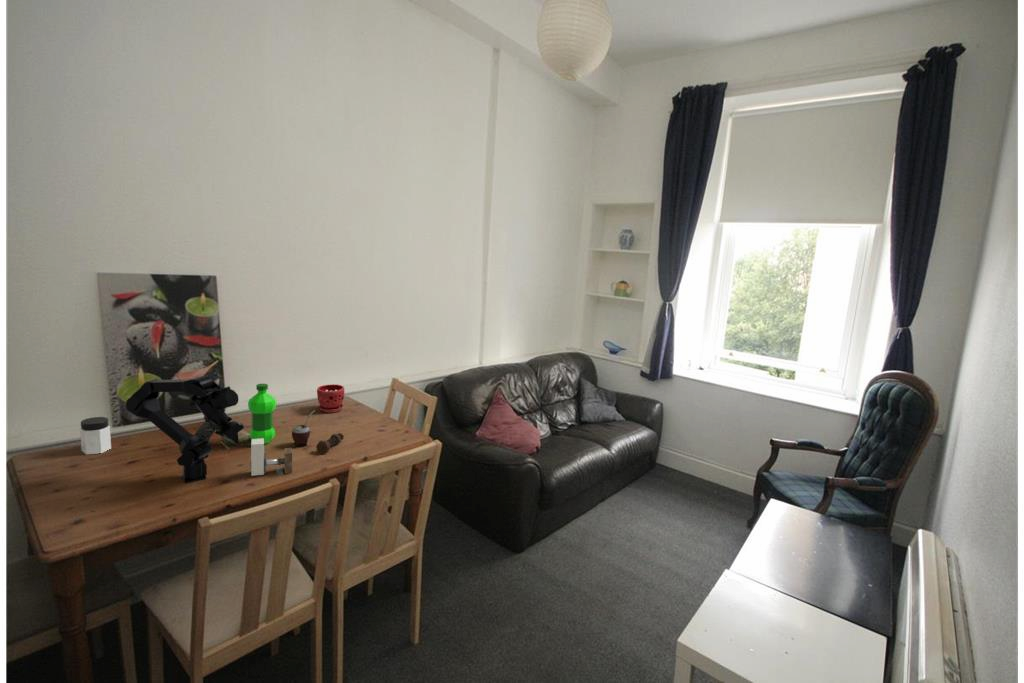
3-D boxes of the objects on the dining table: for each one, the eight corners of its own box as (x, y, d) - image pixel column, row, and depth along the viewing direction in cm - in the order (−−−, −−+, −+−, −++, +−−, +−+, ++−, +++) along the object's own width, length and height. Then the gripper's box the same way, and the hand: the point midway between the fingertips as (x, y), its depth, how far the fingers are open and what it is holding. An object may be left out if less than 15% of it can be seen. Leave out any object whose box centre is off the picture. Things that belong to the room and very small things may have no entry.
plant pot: (338, 404, 270) (338, 382, 268) (348, 411, 260) (348, 389, 258) (312, 407, 262) (313, 385, 259) (322, 415, 252) (322, 392, 250)
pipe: (250, 469, 186) (250, 462, 185) (250, 465, 188) (250, 459, 188) (286, 465, 191) (286, 459, 190) (285, 462, 193) (285, 456, 193)
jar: (78, 455, 190) (76, 425, 188) (84, 447, 197) (82, 417, 195) (108, 453, 194) (106, 423, 192) (113, 444, 201) (111, 416, 199)
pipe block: (276, 474, 189) (276, 454, 187) (276, 468, 193) (276, 449, 192) (292, 473, 191) (292, 453, 190) (291, 467, 196) (291, 447, 194)
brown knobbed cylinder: (342, 444, 225) (323, 456, 210) (333, 437, 225) (313, 449, 211) (348, 434, 224) (330, 446, 209) (339, 427, 224) (320, 438, 209)
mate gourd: (288, 446, 214) (288, 412, 211) (300, 439, 221) (301, 406, 219) (302, 449, 212) (303, 415, 209) (315, 443, 219) (315, 409, 217)
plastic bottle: (244, 445, 210) (243, 387, 206) (256, 436, 221) (255, 380, 216) (269, 447, 211) (268, 389, 206) (279, 438, 221) (279, 382, 216)
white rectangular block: (251, 475, 185) (251, 444, 183) (252, 469, 190) (251, 439, 188) (265, 474, 187) (265, 443, 185) (265, 468, 192) (265, 438, 189)
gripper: (179, 421, 178) (206, 453, 185) (201, 430, 166) (228, 465, 173) (209, 400, 185) (233, 432, 192) (231, 408, 173) (256, 442, 180)
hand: (237, 443), depth 184 cm, fingers closed
